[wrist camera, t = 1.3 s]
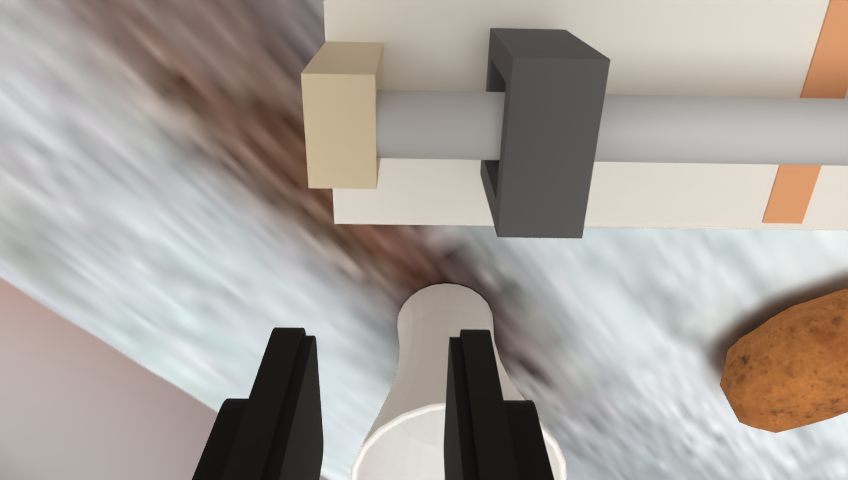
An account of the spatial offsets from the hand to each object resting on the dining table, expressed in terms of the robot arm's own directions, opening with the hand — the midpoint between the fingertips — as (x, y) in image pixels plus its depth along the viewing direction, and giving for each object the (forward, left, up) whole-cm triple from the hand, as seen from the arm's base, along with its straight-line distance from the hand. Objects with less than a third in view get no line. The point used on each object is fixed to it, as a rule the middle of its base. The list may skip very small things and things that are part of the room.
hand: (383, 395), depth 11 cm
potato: (+16, +27, -25) cm, 40 cm away
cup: (+16, +3, -25) cm, 30 cm away
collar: (0, +6, -21) cm, 22 cm away
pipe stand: (0, +14, -25) cm, 29 cm away
